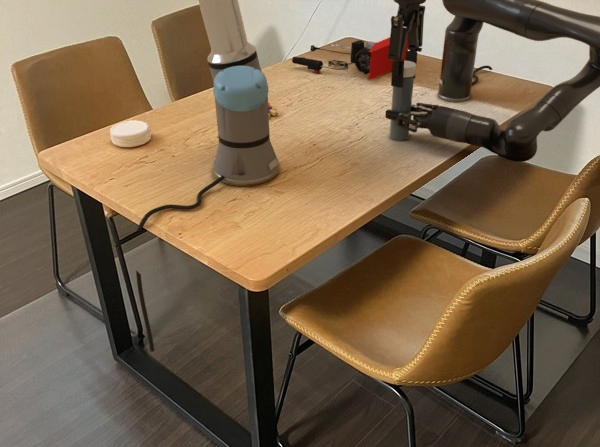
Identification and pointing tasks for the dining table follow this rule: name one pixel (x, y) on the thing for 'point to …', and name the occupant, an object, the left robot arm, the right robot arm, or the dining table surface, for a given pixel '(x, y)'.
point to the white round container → (130, 133)
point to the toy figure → (271, 110)
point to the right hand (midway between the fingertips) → (391, 110)
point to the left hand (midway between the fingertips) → (403, 81)
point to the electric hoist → (358, 58)
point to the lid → (409, 69)
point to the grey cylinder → (401, 107)
